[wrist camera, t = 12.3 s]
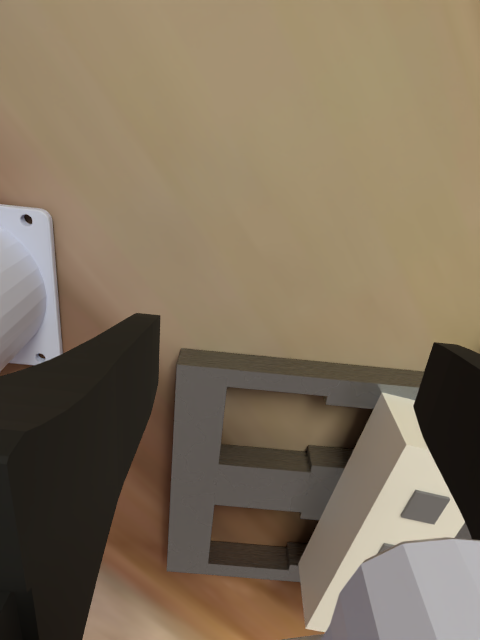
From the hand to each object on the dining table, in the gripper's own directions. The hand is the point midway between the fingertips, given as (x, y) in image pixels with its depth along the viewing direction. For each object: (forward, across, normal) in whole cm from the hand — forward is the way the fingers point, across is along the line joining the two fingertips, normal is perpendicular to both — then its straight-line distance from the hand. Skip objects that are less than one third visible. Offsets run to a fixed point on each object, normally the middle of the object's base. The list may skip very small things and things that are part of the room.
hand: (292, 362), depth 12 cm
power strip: (+10, -7, +13) cm, 17 cm away
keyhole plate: (+10, -5, +13) cm, 17 cm away
